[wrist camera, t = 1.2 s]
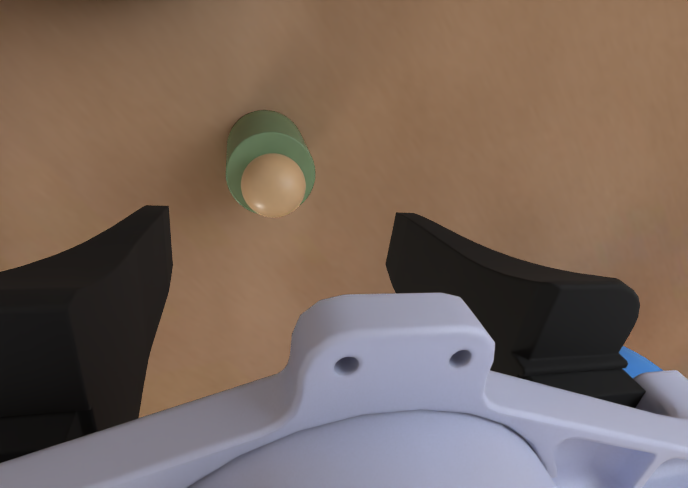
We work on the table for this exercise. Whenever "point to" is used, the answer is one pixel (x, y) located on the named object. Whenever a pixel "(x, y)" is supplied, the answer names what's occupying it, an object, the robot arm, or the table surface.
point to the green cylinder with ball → (268, 164)
